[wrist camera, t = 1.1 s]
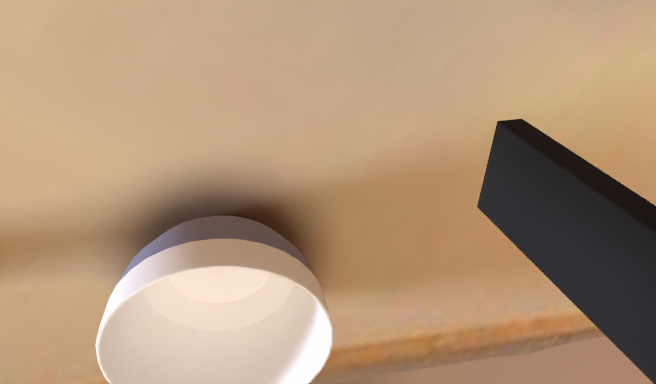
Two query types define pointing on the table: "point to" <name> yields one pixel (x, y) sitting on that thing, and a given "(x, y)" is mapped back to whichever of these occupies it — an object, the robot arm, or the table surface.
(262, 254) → the bowl
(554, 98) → the table surface
